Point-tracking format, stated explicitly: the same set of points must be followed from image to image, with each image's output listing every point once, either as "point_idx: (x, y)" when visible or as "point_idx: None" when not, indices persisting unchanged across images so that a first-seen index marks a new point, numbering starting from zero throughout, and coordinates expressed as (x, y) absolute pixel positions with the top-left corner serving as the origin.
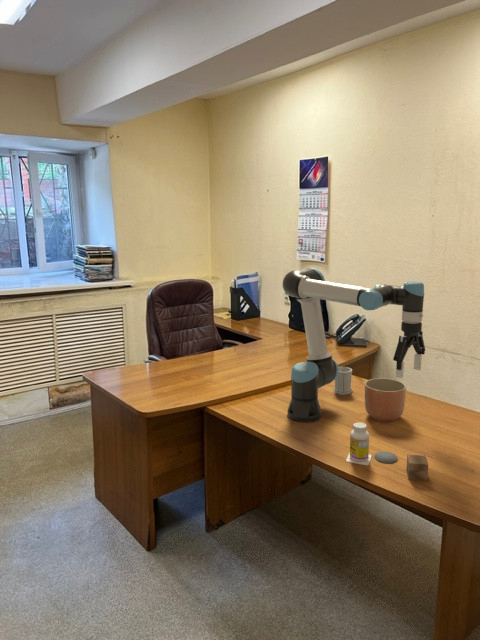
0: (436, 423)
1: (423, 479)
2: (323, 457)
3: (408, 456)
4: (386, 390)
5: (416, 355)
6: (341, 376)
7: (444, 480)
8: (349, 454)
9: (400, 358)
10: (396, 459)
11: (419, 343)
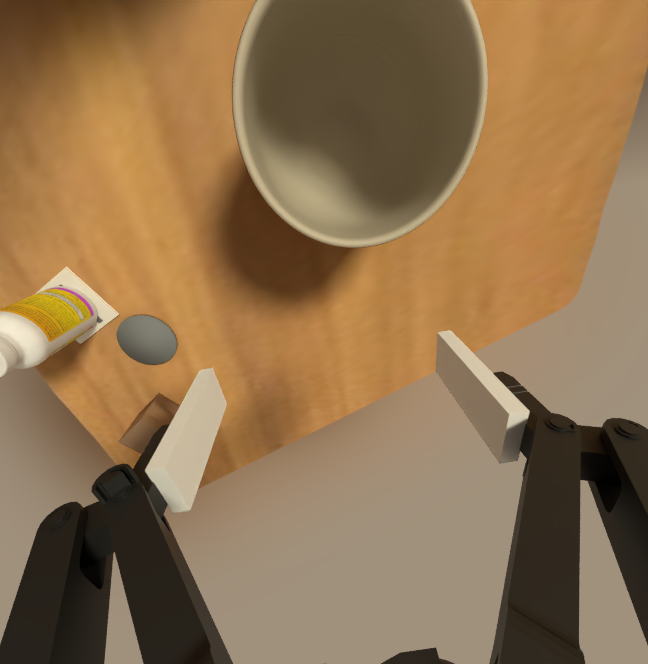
0: (426, 287)
1: None
2: None
3: (136, 426)
4: (436, 61)
5: (497, 419)
6: None
7: None
8: (54, 281)
9: (100, 571)
10: (163, 361)
11: (643, 570)
